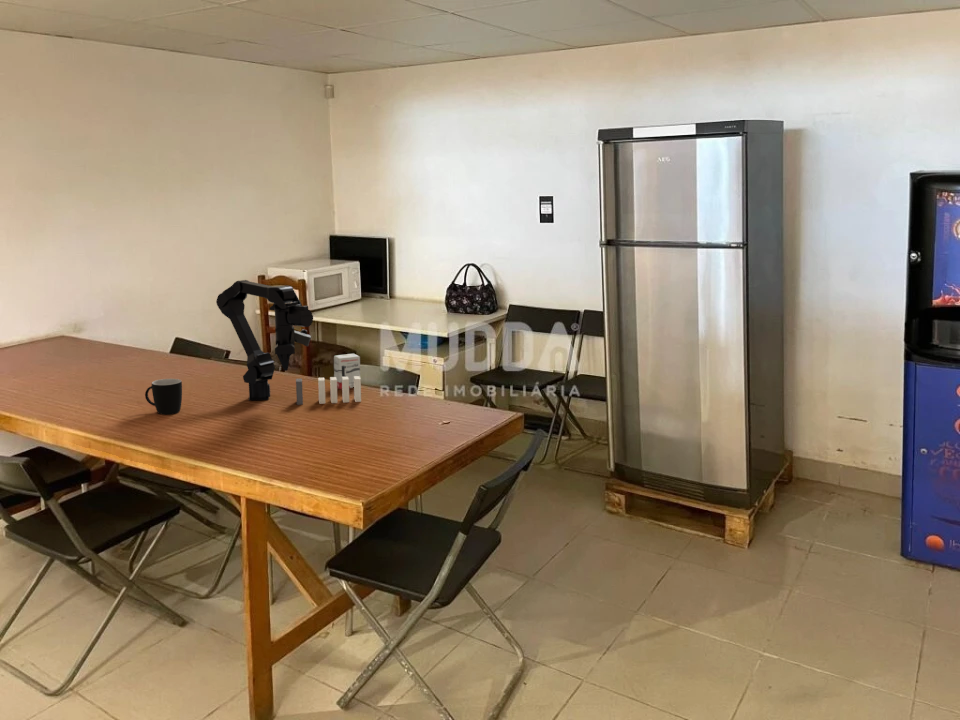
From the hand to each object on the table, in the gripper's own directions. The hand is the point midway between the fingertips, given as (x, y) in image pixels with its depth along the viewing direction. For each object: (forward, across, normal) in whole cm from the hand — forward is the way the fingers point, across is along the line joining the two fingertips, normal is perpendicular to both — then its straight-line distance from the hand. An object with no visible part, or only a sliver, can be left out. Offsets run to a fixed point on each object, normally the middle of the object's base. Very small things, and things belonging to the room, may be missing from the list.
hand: (285, 370), depth 260 cm
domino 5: (+12, 0, -24) cm, 26 cm away
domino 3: (+12, 0, -16) cm, 19 cm away
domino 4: (+12, 0, -20) cm, 23 cm away
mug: (+12, -3, +38) cm, 40 cm away
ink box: (+12, +20, -22) cm, 32 cm away
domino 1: (+12, 0, -4) cm, 12 cm away
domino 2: (+12, 0, -12) cm, 16 cm away
